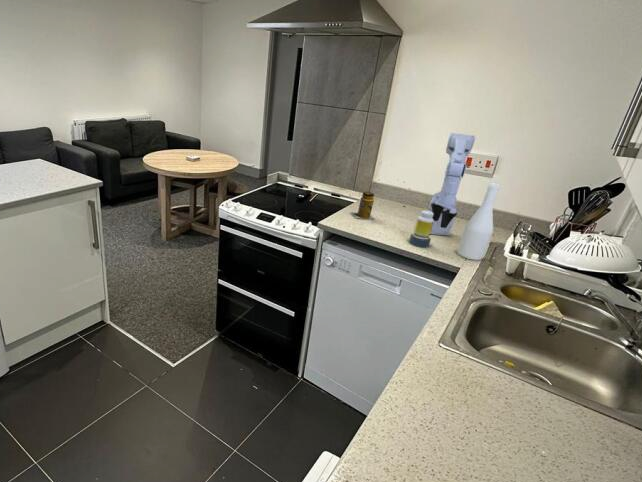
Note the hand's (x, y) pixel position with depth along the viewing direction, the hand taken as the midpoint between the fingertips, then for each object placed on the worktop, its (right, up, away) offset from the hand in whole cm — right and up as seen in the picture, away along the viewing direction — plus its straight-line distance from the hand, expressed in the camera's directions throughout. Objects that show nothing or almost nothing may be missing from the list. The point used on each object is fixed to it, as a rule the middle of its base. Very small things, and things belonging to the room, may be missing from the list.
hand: (439, 224), depth 162 cm
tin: (-7, -8, +4) cm, 11 cm away
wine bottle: (+10, -13, -4) cm, 17 cm away
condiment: (-22, +5, +31) cm, 38 cm away
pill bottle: (-7, -6, +2) cm, 9 cm away
